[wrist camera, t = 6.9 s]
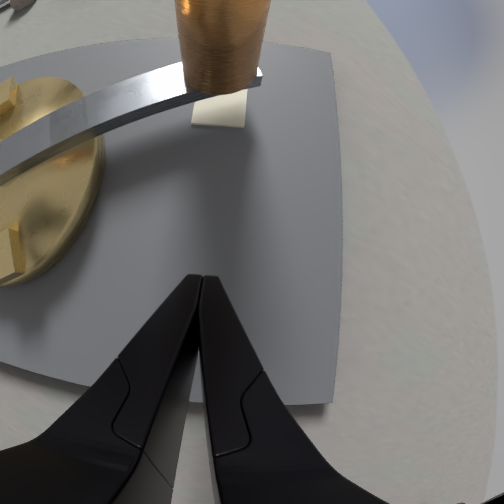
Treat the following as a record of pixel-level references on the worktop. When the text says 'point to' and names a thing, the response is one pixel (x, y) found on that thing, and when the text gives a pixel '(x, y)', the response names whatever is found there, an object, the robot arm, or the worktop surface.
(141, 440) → the robot arm
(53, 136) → the brass wheel crank mechanism
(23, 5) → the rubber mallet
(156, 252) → the grey rectangular board
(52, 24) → the worktop surface
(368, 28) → the worktop surface
